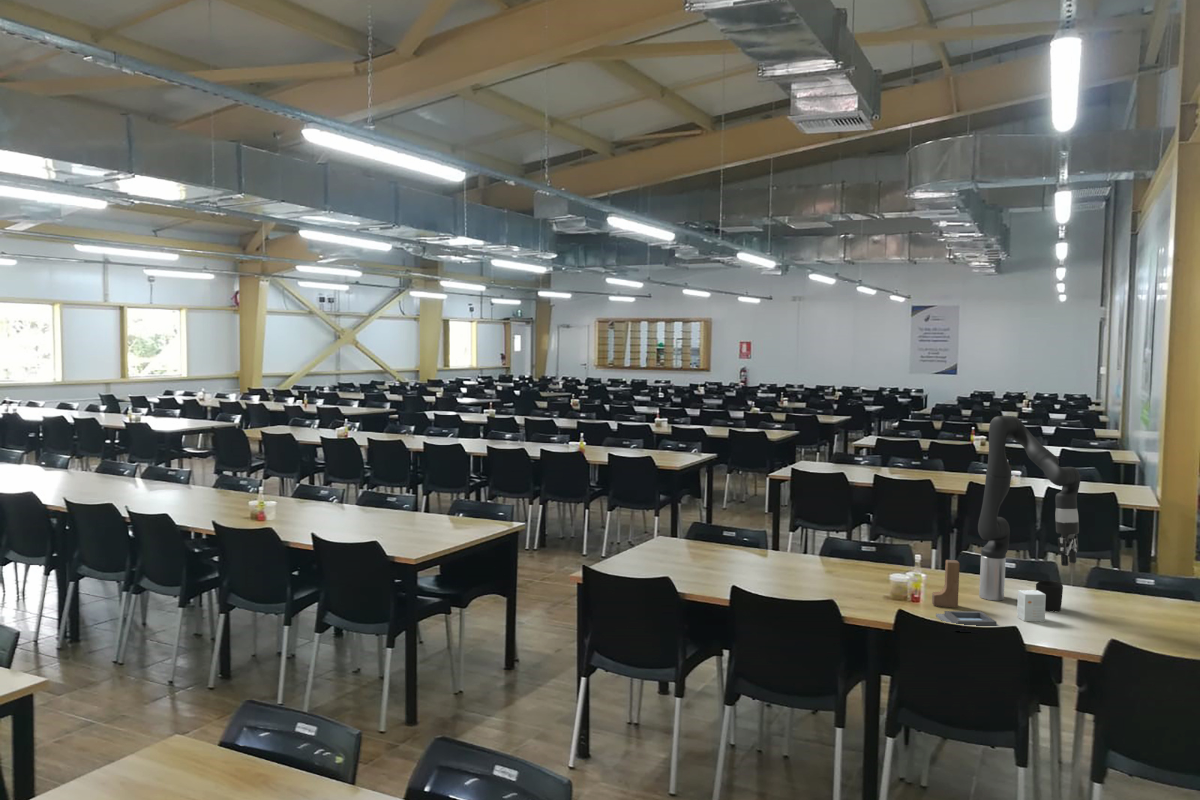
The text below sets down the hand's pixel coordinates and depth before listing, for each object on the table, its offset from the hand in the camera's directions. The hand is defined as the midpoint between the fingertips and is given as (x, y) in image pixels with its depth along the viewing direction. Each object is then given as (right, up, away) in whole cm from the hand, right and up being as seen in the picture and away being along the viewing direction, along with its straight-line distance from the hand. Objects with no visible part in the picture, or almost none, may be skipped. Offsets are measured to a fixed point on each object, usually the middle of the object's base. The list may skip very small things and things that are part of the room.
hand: (1068, 564), depth 315 cm
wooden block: (-38, -21, +21) cm, 48 cm away
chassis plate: (-38, -22, -2) cm, 44 cm away
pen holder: (+2, -21, +18) cm, 28 cm away
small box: (-12, -22, +5) cm, 25 cm away
